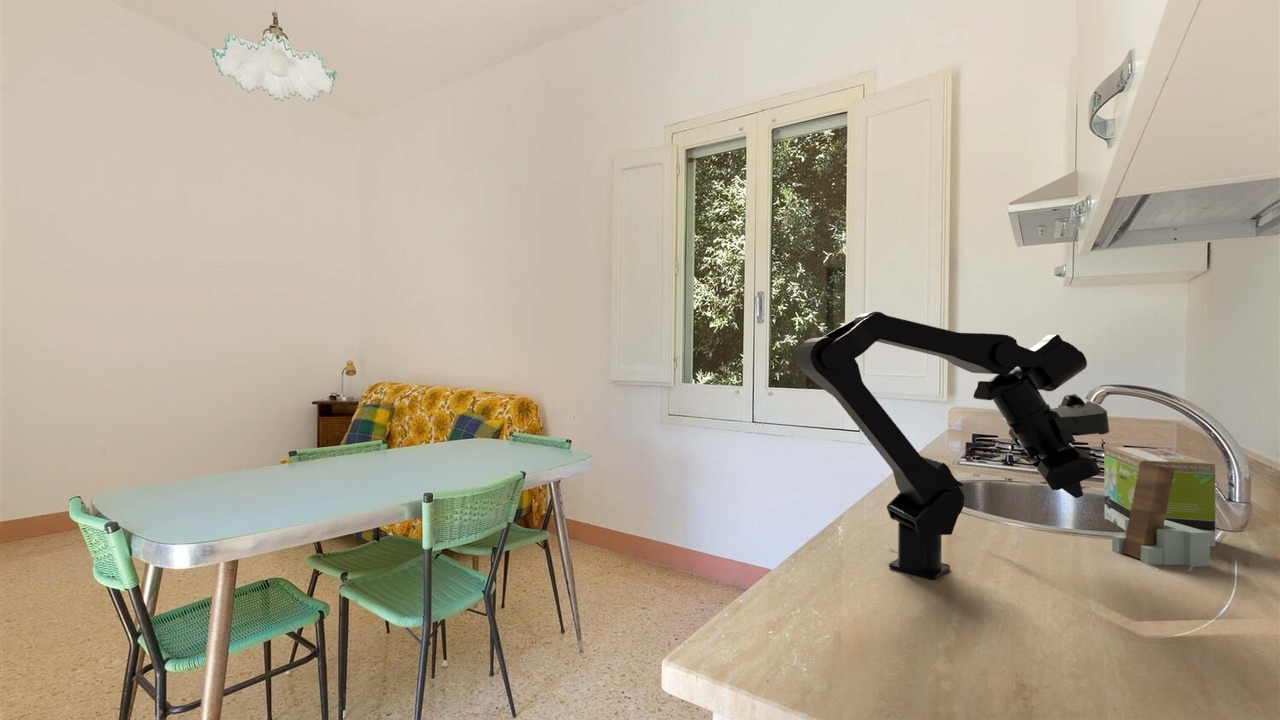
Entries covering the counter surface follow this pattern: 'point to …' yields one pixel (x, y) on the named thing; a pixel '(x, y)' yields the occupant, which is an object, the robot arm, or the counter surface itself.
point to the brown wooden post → (1148, 507)
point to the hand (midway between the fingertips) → (1078, 495)
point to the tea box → (1188, 489)
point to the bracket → (1173, 546)
